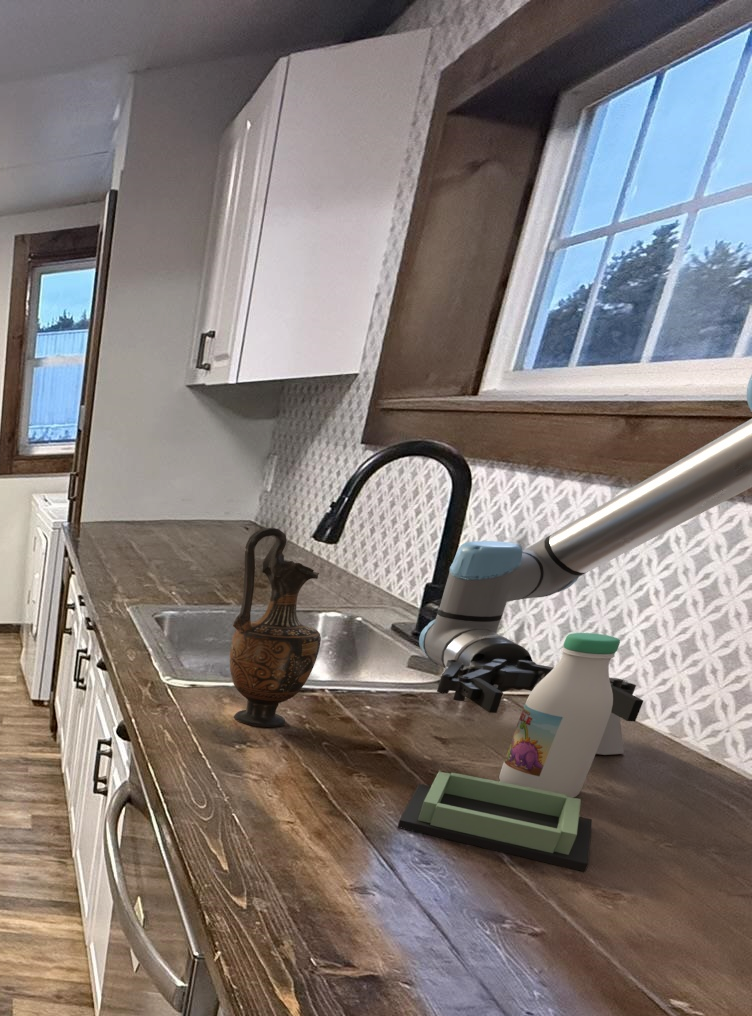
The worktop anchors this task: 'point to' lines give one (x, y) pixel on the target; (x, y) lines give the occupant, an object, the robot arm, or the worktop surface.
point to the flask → (612, 736)
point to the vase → (272, 637)
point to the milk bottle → (564, 719)
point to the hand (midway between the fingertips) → (564, 706)
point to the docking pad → (502, 818)
